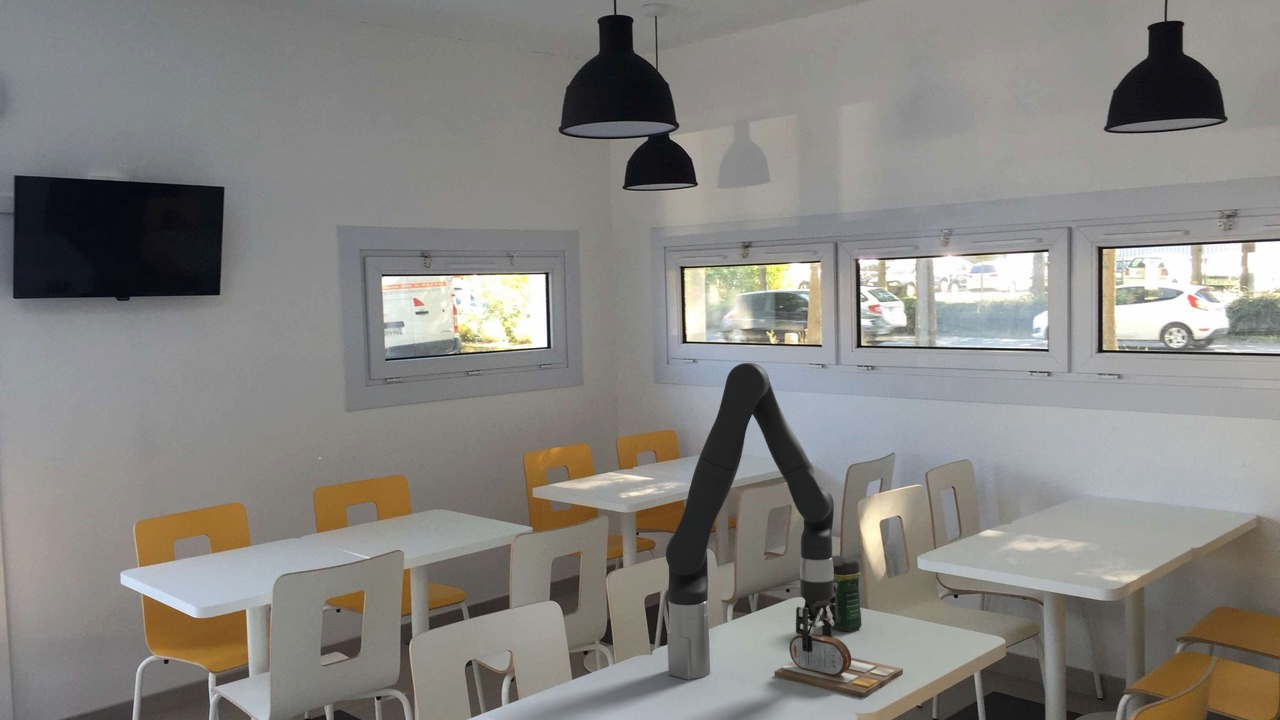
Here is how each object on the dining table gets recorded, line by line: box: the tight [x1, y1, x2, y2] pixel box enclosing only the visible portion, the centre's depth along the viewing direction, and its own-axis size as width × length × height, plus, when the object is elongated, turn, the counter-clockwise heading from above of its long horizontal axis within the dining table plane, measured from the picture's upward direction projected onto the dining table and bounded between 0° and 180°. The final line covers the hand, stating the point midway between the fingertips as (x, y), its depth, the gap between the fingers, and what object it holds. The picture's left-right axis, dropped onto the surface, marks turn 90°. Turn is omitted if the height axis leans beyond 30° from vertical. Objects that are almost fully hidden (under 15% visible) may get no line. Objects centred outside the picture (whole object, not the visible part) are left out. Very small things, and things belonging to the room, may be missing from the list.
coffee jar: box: [831, 554, 862, 632], centre depth 270 cm, size 10×8×19 cm
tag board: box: [774, 657, 904, 699], centre depth 235 cm, size 18×23×2 cm
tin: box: [788, 632, 852, 676], centre depth 233 cm, size 15×3×8 cm, turn 49°
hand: (817, 646), depth 233 cm, fingers open, 8 cm apart
